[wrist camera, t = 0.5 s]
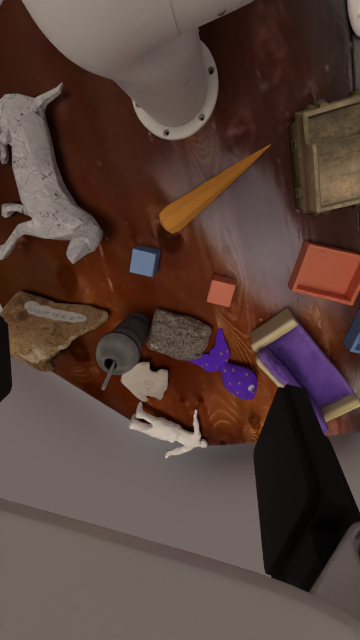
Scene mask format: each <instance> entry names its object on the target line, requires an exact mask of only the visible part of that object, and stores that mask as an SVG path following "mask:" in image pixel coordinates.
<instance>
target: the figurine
mask: <svg viewBox="0 0 360 640" xmlns="http://www.w3.org/2000/svg"><path fill="white" fill-rule="evenodd" d="M193 416H194V423H193V425H194V432H189V431H186V430H184V429H182V427H181V426H180V425H179V424H175V423H174V422H172V421H168V420H166V419H165V418H162V417H159V418H157V417H154V416H152V415H150V414H148V413H146V412H144V411H143V410H142V402H139V404H138V407H137V411H136V414H135V413H134V414H133V415H132V418H131V421H130V425H129V428H130V429H134V430H137V431H141V432H144V433H146V434H148V435H149V436H151V437H155V438H157V439H161V440H167V441H169V442H172V443H173V442H174V441H177V442H179V443H181V444H183V445H182V446H181V447H177V448H175V449H174V450H173V451H170V452H169V451H168V452H167V453H166V454H167V455H166V456H165V457H166V459H167V457H169V456H170V455H179V454H181V453H185V452H186V451H191V450H192V448H194V447H198V446H200V447H202V448H206V447H207V441H206V440H205V439H200V438H201V433H200V431H199V422H198V420H197V410H196V409H195V411H194V415H193ZM137 418H143V419H145V420H147V421H148V422H149V423H151V424H152V425H150V424H146V423H141V422H140V421H138V420H137Z"/></svg>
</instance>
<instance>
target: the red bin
mask: <svg viewBox="0 0 360 640" xmlns="http://www.w3.org/2000/svg"><path fill="white" fill-rule="evenodd" d="M288 286H289V288H290V289H291V291H293V292H297V293H302V294H306V295H310V296H314V297H318V298H323V299H327V300H331V301H335V302H339V303H344V304H348V305H353V303H354V301H355V299H356V297H357V295H358V293H359V291H360V253H357V252H353V251H348V250H344V249H339V248H335V247H331V246H326V245H322V244H318V243H313V242H309V241H304V243H303V245H302V248H301V251H300V253H299V256H298V259H297V261H296V264H295V267H294V269H293V272H292V275H291V277H290V280H289V283H288Z"/></svg>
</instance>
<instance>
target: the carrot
mask: <svg viewBox="0 0 360 640" xmlns="http://www.w3.org/2000/svg"><path fill="white" fill-rule="evenodd" d="M270 145H271V144H270ZM270 145H268V146H266V147H265V148H263V149H261V150H259V151H257V152H256V153H254V154H252V155H250V156H248V157H246V158H245V159H243V160H241V161H239V162H237V163H236V164H234V165H232V166H231V167H229V168H227V169H226V170H224V171H222V172H221V173H219V174H218V175H216V176H214V177H213V178H211V179H209V180H208V181H206V182H205V183H203V184H201V185H200V186H198V187H196V188H195V189H193V190H192V191H190V192H188V193H187V194H185V195H183V196H182V197H180V198H179V199H177V200H175V201H174V202H172V203H170V204H169V205H167V206H165V207H164V209H163V210H162V211H161V213H160V214H159V218H160V224H161V226H162V227H163V228H164V229H165V230H166V231H169V232H170V233H172V234H173V233H175V232H178V231H180V230H181V229H182V228H183V227H185V226H186V225H187V224H188V223H189V222H190V221H191V220H192V219H193V218H194V217H195V216H197V215H198V214H199V213H200V212H201V211H202V210H203V209H204V208H205V207H206V206H207V205H209V204H210V203H211V202H212V201H213V200H214V199H215V198H216V197H217V196H218V195H219V194H221V193H222V192H223V191H224V190H225V189H226V188H227V187H228V186H229V185H230V184H231V183H233V182H234V181H235V180H236V179H237V178H238V177H239V176H240V175H241V174H242V173H243V172H244V171H245V170H246V169H247V168H248V167H249V166H250V165H251V164H252V163H253V162H254V161H255V160H256V159H257V158H258V157H259V156H260V155H261V154H262V153H263V152H264V151H265V150H266V149H267V148H268V147H269V146H270Z"/></svg>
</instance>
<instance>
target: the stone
mask: <svg viewBox="0 0 360 640" xmlns="http://www.w3.org/2000/svg"><path fill="white" fill-rule="evenodd" d="M211 330H212V328H211V327H210V326H208V325H205V324H203V323H202V322H200V321H199V320H197V319H195V318H193V317H191V316H190V317H189V316H183V315H177V314H174V313H172V312H169V311H167V310H163V309H160V308H157V309H156V311H155V314H154V316H153V321H152V326H151V329H150V331H149V335H148V337H147V340H146V345H147V347H148V349H150V350H154V351H157V352H160V353H162V354H166V355H168V356H170V357H172V358H174V359H177V360H180V361H182V360H196V359H199V358H200V357H201V356H202V354H203V353H204V350H205V349H206V347H207V345H208V342H209V338H210V334H211Z"/></svg>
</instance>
